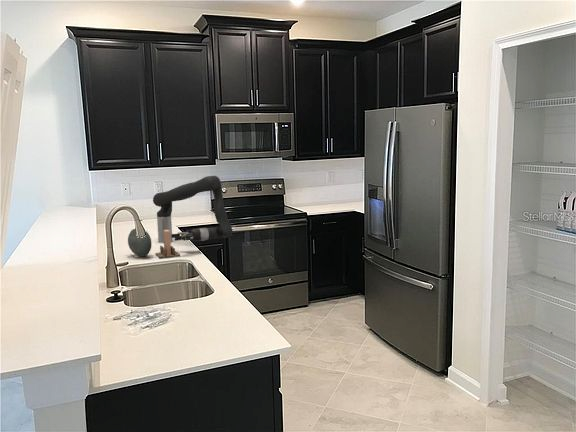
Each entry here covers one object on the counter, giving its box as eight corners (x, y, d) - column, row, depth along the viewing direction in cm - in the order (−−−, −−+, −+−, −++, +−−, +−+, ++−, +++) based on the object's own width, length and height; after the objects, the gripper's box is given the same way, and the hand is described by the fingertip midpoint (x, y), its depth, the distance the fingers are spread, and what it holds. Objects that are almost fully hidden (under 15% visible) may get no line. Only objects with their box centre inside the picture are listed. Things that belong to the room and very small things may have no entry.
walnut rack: (155, 254, 289) (154, 246, 288) (175, 252, 294) (174, 244, 294) (159, 258, 279) (159, 250, 278) (180, 256, 284) (180, 248, 283)
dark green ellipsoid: (146, 252, 295) (144, 216, 291) (154, 258, 281) (152, 220, 277) (126, 255, 289) (124, 218, 285) (134, 260, 275) (131, 222, 271)
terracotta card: (164, 253, 288) (163, 229, 286) (168, 252, 290) (167, 229, 287) (166, 255, 283) (165, 231, 281) (171, 254, 284) (169, 231, 282)
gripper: (196, 226, 299) (169, 229, 292) (203, 230, 287) (175, 233, 280) (196, 238, 300) (170, 241, 293) (203, 242, 288) (176, 245, 281)
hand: (173, 237), depth 286 cm, fingers open, 8 cm apart
